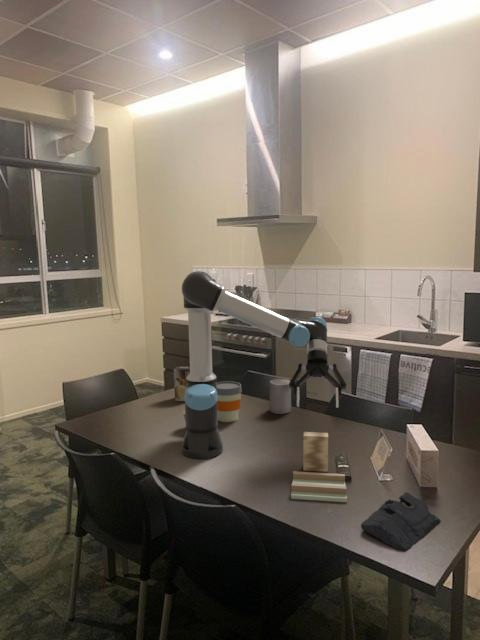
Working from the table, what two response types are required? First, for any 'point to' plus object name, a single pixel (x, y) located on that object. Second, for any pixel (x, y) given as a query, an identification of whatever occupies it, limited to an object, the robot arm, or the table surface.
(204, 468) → the table surface
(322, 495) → the groove board
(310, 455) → the tan upright rectangular block
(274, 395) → the grey tin can
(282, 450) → the table surface
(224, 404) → the reusable coffee cup
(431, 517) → the folded dark sweater
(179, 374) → the coffee box
